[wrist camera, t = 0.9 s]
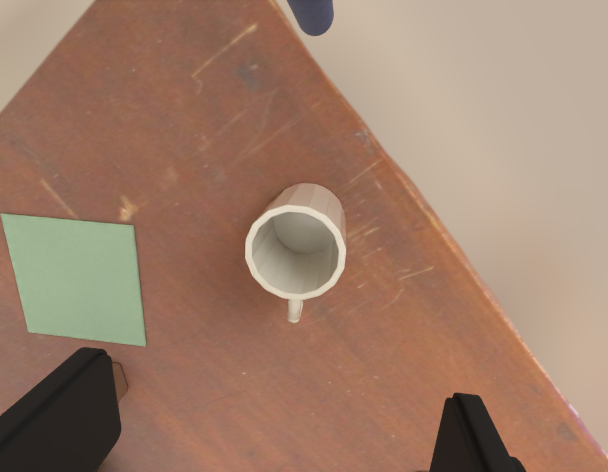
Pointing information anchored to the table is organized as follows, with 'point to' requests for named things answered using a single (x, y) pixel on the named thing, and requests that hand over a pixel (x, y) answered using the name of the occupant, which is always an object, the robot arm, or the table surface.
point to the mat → (77, 278)
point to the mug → (298, 245)
